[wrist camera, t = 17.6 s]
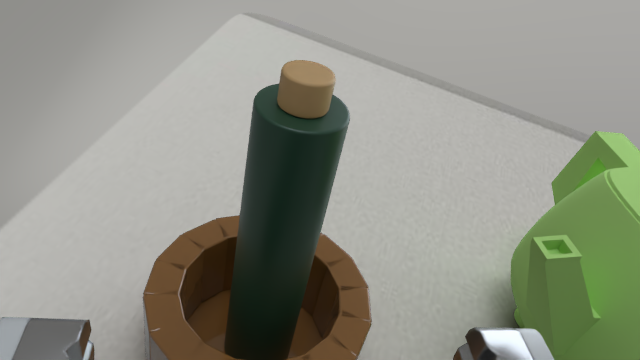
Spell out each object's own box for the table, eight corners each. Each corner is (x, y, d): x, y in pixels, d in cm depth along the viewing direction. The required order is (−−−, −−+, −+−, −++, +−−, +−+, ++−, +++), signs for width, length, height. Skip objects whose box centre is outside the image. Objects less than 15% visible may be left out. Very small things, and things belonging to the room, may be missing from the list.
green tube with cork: (233, 383, 18) (276, 98, 11) (217, 325, 20) (246, 48, 13) (298, 366, 19) (376, 95, 12) (278, 312, 21) (335, 49, 14)
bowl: (164, 484, 16) (164, 431, 14) (135, 287, 21) (132, 228, 19) (383, 412, 19) (411, 360, 17) (308, 258, 24) (322, 204, 22)
